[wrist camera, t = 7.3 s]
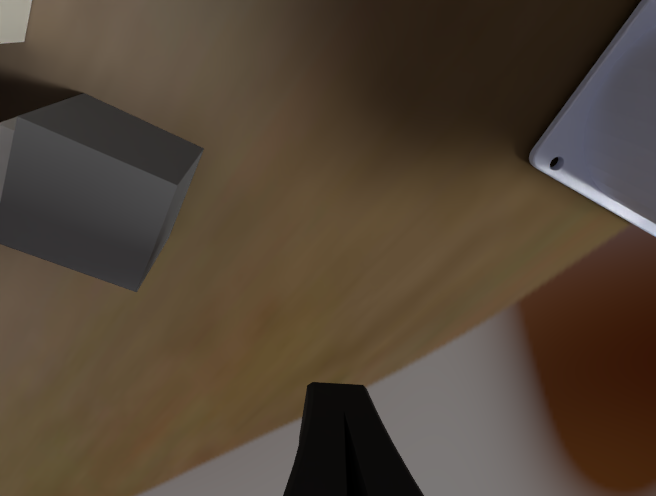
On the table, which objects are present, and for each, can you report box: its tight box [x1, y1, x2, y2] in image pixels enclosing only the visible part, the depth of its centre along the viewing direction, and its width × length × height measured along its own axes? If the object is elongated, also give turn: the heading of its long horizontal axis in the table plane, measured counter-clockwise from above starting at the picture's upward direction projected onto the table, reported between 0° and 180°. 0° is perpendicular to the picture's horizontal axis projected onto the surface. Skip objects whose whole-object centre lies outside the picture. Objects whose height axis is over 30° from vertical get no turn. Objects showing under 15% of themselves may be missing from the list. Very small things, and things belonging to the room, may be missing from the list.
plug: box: [0, 93, 204, 292], centre depth 14 cm, size 5×4×4 cm
